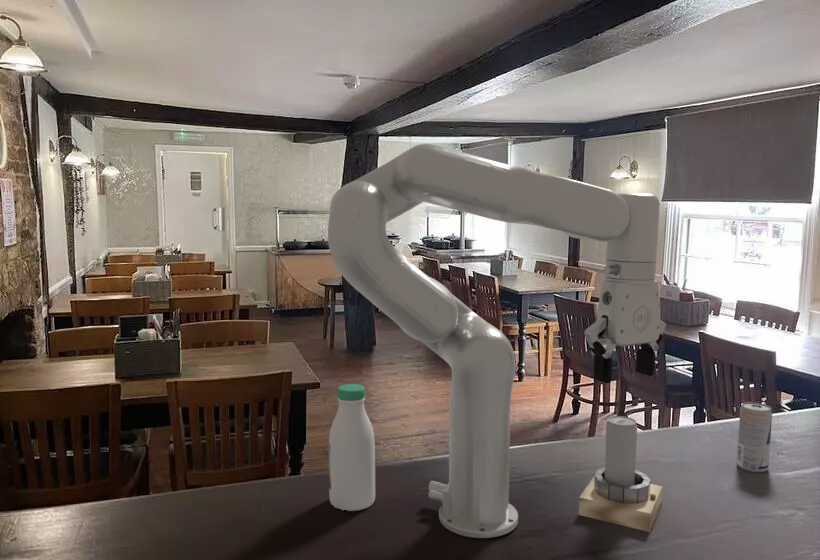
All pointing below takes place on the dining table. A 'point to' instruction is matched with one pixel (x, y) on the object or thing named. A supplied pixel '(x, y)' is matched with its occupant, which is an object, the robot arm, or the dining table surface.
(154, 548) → the dining table surface
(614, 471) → the beverage can
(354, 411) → the milk bottle
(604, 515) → the mount block
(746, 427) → the energy drink
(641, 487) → the mount ring
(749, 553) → the dining table surface
